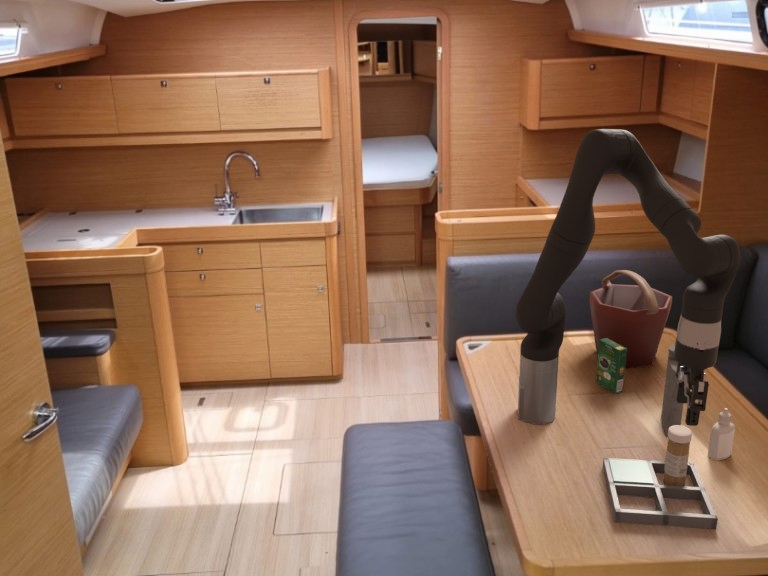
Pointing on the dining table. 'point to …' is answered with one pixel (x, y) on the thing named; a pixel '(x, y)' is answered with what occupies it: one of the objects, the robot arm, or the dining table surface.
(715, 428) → the eye dropper bottle
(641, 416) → the dining table surface
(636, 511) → the organizer
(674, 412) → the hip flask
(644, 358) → the bucket
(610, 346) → the coffee box
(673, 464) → the sprinkles bottle
